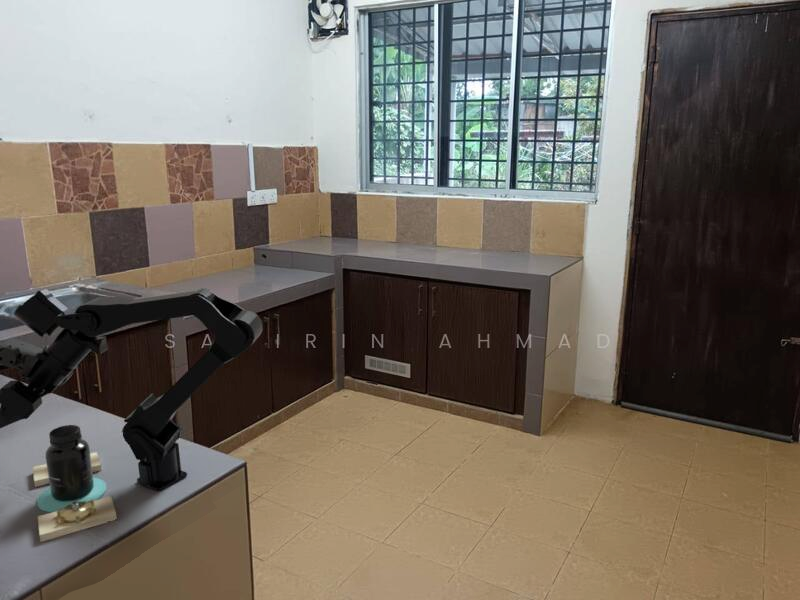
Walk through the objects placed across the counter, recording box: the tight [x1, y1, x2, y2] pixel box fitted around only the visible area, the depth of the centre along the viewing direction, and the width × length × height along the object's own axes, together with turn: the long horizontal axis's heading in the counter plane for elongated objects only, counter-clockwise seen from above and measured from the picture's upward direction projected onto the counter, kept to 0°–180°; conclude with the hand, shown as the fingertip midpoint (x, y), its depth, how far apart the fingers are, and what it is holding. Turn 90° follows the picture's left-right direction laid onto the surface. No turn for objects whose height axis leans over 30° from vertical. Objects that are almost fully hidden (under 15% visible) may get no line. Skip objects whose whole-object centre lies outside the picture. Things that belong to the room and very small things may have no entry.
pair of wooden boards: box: [32, 451, 118, 543], centre depth 109 cm, size 25×11×1 cm, turn 32°
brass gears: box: [57, 500, 96, 525], centre depth 108 cm, size 25×6×3 cm, turn 32°
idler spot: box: [36, 477, 107, 513], centre depth 109 cm, size 11×11×1 cm
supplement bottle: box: [45, 424, 94, 501], centre depth 108 cm, size 7×7×12 cm
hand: (6, 416), depth 109 cm, fingers open, 9 cm apart
